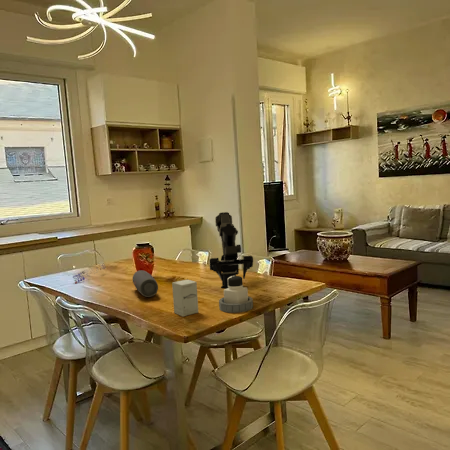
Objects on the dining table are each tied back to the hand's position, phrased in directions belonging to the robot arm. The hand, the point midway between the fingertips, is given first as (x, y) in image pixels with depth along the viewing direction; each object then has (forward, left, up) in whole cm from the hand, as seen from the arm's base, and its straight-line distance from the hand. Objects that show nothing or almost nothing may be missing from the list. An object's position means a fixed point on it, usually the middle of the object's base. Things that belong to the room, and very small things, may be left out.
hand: (233, 279), depth 181 cm
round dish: (+3, -6, -10) cm, 12 cm away
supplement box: (-14, -17, -10) cm, 24 cm away
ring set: (-98, +25, -10) cm, 102 cm away
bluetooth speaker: (-48, +4, -10) cm, 49 cm away
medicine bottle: (+3, -6, -9) cm, 12 cm away
